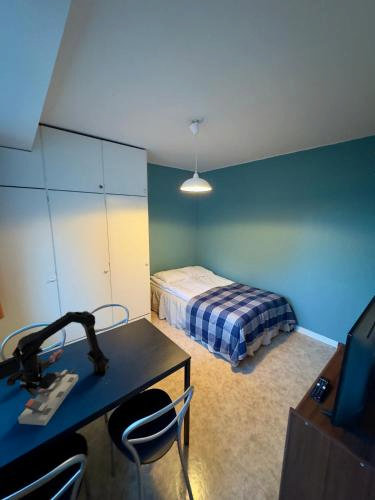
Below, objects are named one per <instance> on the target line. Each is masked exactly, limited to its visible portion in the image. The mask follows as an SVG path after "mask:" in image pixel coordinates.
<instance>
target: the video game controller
mask: <svg viewBox="0 0 375 500" xmlns="http://www.w3.org/2000/svg"><path fill="white" fill-rule="evenodd" d="M63 353H64V350H63V349H60V348H59V349H58V350H56V351H54V352H53V353H52V354H51V355H50V357H48V359H47V360H50V364H53V363H54V362H55V361H56V360H59V358H60V357H61V355H62V354H63Z"/></svg>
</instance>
